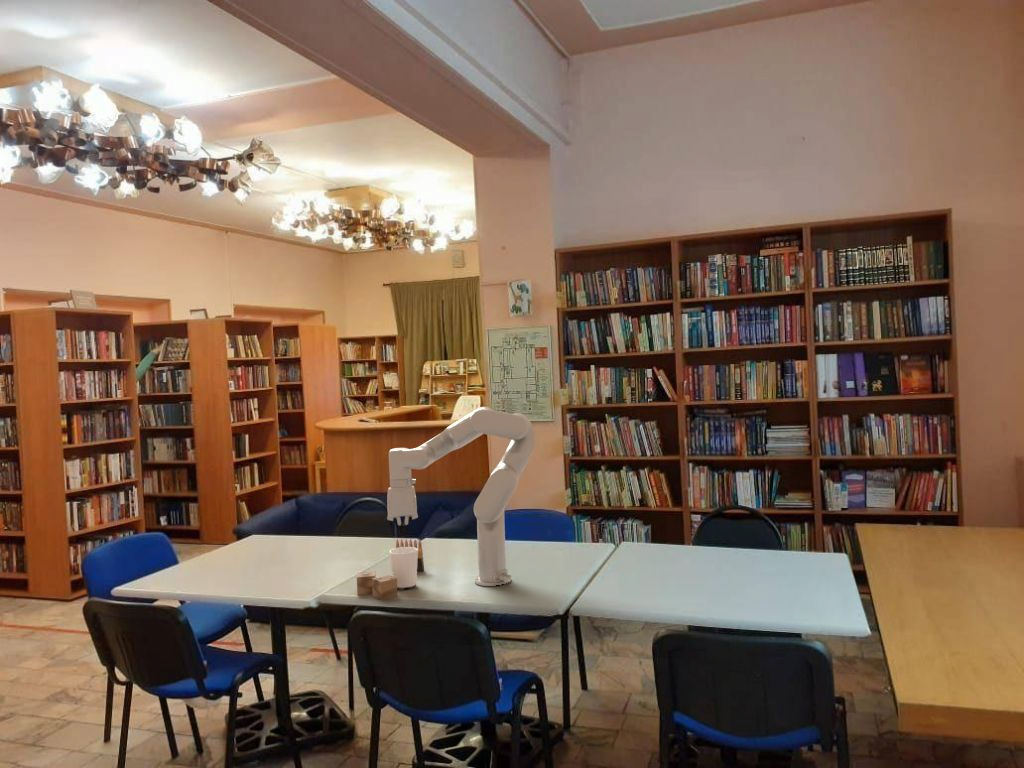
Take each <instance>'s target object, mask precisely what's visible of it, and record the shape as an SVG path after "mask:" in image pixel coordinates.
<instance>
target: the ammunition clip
mask: <svg viewBox="0 0 1024 768" xmlns="http://www.w3.org/2000/svg"><path fill="white" fill-rule="evenodd" d="M413 541H414V542H413ZM408 542H409V543H408ZM422 546H423V545H422V540H421V539H419V540H418V543H417V539H414V540H412V539H411V538H410V539H409V541H408V539H407V538H406V539H405V541H403V539H402V538H401V539H400V541H399V539H398V538H397V539H396V542H395V548H400V547H414V548H417V549H418V559H417V573H423V572H424V571H425V566H424V565H425V564H424V563H425V562H424V557H423V555H424V553H423V547H422Z"/></svg>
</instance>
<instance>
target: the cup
mask: <svg viewBox="0 0 1024 768" xmlns="http://www.w3.org/2000/svg"><path fill="white" fill-rule="evenodd" d="M417 559H418V547H417V548H414V546H413V547H409V546H408V547H405V546H404V547H400V546H399V548H396V547H395V548H392V549H390V550H389V561H390V565H391V566H390V568H391V573H392V575H391V576H393V577H395V578H397V589H398V590H399V591H403V590H404V589H408V590H412V589H413V588H414V587H416V586H417V577H418V576H417V574H418V572H417Z"/></svg>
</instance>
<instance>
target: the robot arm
mask: <svg viewBox="0 0 1024 768" xmlns="http://www.w3.org/2000/svg"><path fill="white" fill-rule="evenodd" d="M482 435H488V436H491V437H497V438H503V439H508V440H510V442H509V444H508V447H507V448H506V450H505V452H504V454H503V455H502V457H501V460H500V461H499V463H497V466H496V467H495V468H494V469H493V470H492V472H491V474H490V476H489V477H488V479H487V481H486V482H485V484H484V486H483V488H482V490H481V491H480V493H479V494H478V496H477V498H476V500H475V502H474V504H473V513H474V516H475V518H476V531H477V556H478V559H477V560H478V576H476V577H475V578H474V583H475V584H476V585H478V586H482V587H483V586H484V587H497V586H496V585H500V586H502V585H501V584H504V585H507V584H509V583H510V582H511V581H512V575H511V574H509V573H508V569H507V558H506V557H507V555H506V554H507V553H506V536H505V535H506V532H505V531H506V530H505V529H506V528H505V508H506V506H507V505H508V503H509V501H510V499H511V498H512V496H513V494H514V492H515V491H516V489H517V487H518V484H519V480H520V477H521V475H522V473H523V471H524V470H525V468H526V466H527V464H528V463H529V461H530V459H531V457H532V454H533V452H534V448H535V446H536V433H535V429H534V426H533V424H532V423H531V421H530V419H529V418H528V417H527V416H526V415H524V414H523V413H520V412H515V413H509V412H503V411H499V410H493V409H492V408H491V407H489V406H481V407H478V408H477V409H474V410H473V411H472V412H470V413H469V414H466V415H465V416H463V417H461V419H459V420H457V421H455V422H454V423H452V424H450V425H449V426H447V427H446V428H445V429H444V430H443V431H442V432H440V433H439V434H437V435H436V436H434V437H433V438H430V439H429V440H428V441H426V442H423V444H420V445H419V446H417V447H415V448H410V449H409V448H408V447H395V448H392V449H390V450H389V451H388V467H389V468H388V469H389V485H390V487H388V488H387V498H386V499H387V501H386V502H387V504H386V505H387V517H386V519H387V521H391V522H395V524H397V525H398V533H399V535H400V536H401V538H403V537H407V534H408V532H409V531H408V530H409V529H408V525H409V524H410V522H411V521H412V520H416V519H418V517H419V515H418V511H417V510H418V505H417V496H416V495H417V494H416V490H415V486H414V484H416V483H417V480H416V478H415V479H414V478H412V470H413V469H414V470H424V469H426V468H427V467H429V466H430V465H432V464H433V463H434V462H436V461H437V460H439V459H441V458H443V457H444V456H446V455H448V454H449V453H451V452H453V451H455V450H458V449H460V448H462V447H465V446H466V445H467V444H469V443H471V442H472V441H474V440H476V439H477V438H479V437H481V436H482ZM401 517H404V522H402V520H401ZM508 582H509V583H508ZM506 583H507V584H506Z"/></svg>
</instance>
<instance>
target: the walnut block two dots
mask: <svg viewBox="0 0 1024 768" xmlns="http://www.w3.org/2000/svg"><path fill="white" fill-rule="evenodd" d="M372 590H373V594H372V597H374V598H376V599H378V600H381V601H382V600H383V601H384V600H387V599H390V597H391V598H394V596H395V597H398V588H397V578H395V577H393V575H390V574H386V575H381V576H376V578H372Z"/></svg>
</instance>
